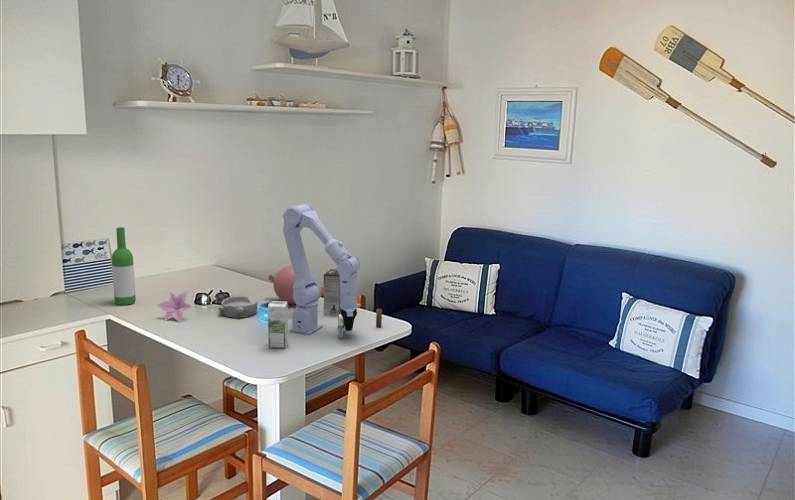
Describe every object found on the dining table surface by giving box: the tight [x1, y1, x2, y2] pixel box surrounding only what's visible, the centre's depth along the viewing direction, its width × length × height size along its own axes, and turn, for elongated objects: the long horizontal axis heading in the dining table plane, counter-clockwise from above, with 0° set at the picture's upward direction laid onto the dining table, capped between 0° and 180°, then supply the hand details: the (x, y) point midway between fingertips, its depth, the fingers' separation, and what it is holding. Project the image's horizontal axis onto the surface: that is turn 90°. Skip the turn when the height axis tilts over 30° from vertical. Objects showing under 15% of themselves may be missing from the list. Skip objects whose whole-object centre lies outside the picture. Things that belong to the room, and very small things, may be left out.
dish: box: [217, 295, 258, 319], centre depth 243 cm, size 14×14×5 cm
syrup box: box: [267, 300, 289, 349], centre depth 209 cm, size 6×6×14 cm
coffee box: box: [323, 268, 341, 317], centre depth 245 cm, size 9×6×16 cm
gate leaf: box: [337, 314, 344, 339], centre depth 222 cm, size 11×2×5 cm, turn 4°
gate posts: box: [337, 308, 383, 329], centre depth 230 cm, size 16×2×6 cm, turn 98°
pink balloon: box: [268, 264, 296, 305], centre depth 257 cm, size 15×20×15 cm
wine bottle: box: [111, 226, 137, 306], centre depth 249 cm, size 8×8×30 cm
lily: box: [156, 290, 193, 323], centre depth 235 cm, size 12×12×10 cm
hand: (348, 330), depth 221 cm, fingers closed, pressing on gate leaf
